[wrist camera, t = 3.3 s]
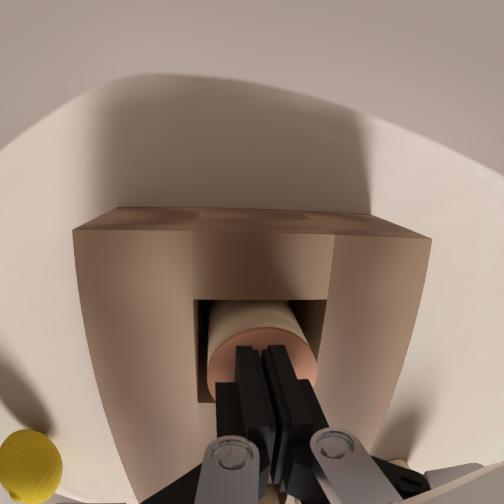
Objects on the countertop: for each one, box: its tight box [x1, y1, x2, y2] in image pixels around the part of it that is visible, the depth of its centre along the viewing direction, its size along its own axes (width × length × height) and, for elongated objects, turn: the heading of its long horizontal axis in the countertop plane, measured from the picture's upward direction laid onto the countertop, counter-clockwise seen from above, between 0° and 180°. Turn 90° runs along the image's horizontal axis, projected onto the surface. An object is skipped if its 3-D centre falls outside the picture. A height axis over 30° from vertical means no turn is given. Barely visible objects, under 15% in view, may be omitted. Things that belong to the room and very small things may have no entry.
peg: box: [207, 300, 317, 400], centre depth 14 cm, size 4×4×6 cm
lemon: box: [0, 429, 62, 504], centre depth 16 cm, size 6×6×8 cm
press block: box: [72, 207, 432, 504], centre depth 17 cm, size 14×22×6 cm, turn 177°
